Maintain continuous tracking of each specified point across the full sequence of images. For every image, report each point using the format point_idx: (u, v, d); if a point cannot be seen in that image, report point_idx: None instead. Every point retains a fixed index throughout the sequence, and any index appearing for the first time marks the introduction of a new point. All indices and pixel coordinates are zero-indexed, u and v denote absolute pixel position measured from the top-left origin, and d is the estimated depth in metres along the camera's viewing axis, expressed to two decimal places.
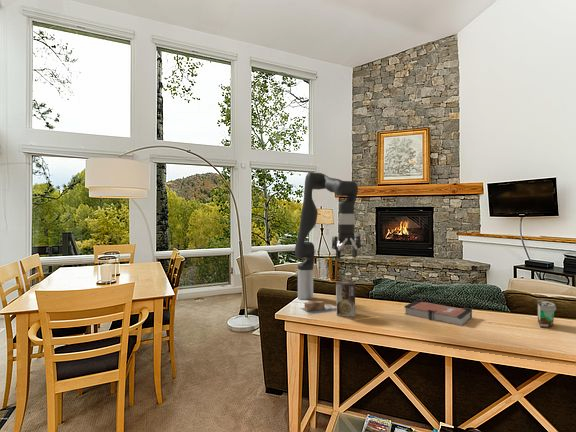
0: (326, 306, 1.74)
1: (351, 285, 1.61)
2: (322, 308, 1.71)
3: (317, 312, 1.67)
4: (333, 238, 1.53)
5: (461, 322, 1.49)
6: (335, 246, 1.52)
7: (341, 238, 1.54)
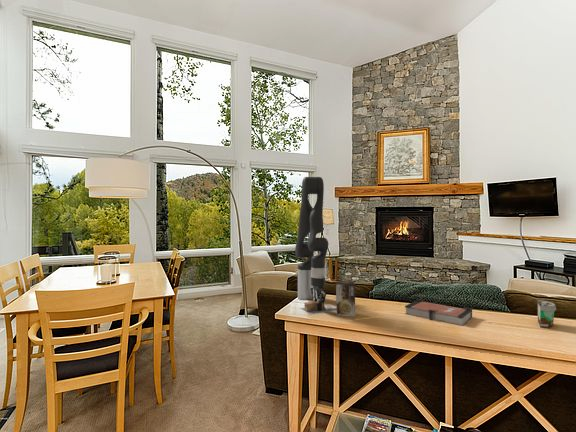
0: (326, 306, 1.74)
1: (351, 285, 1.61)
2: (322, 308, 1.71)
3: (317, 312, 1.67)
4: (323, 295, 1.66)
5: (462, 322, 1.50)
6: None
7: None
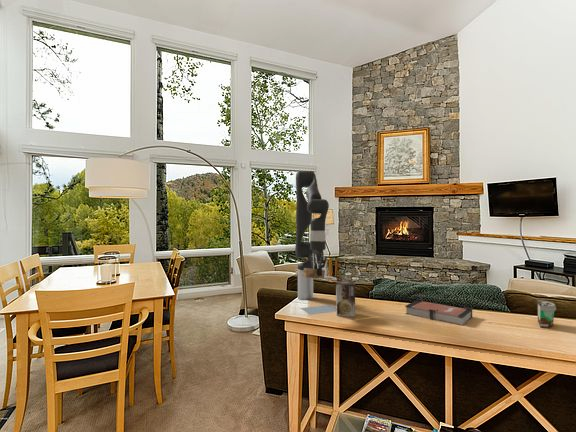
0: (326, 276, 1.64)
1: (351, 285, 1.61)
2: (321, 277, 1.61)
3: (317, 312, 1.67)
4: (323, 259, 1.56)
5: (462, 321, 1.50)
6: None
7: None
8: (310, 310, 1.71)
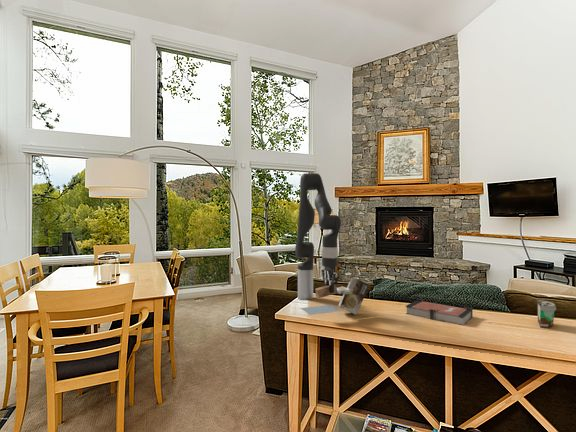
0: (338, 289, 1.63)
1: (366, 284, 1.63)
2: (334, 292, 1.60)
3: (317, 312, 1.67)
4: (336, 276, 1.54)
5: (462, 321, 1.50)
6: None
7: None
8: (310, 310, 1.71)
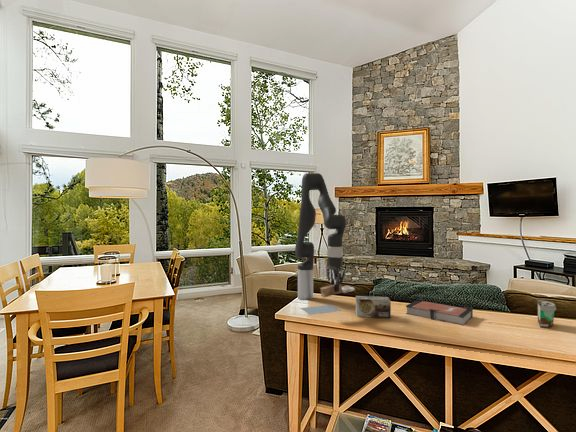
0: (343, 288, 1.64)
1: (389, 314, 1.59)
2: (339, 291, 1.61)
3: (317, 312, 1.67)
4: (341, 275, 1.56)
5: (463, 321, 1.51)
6: None
7: None
8: (310, 310, 1.71)
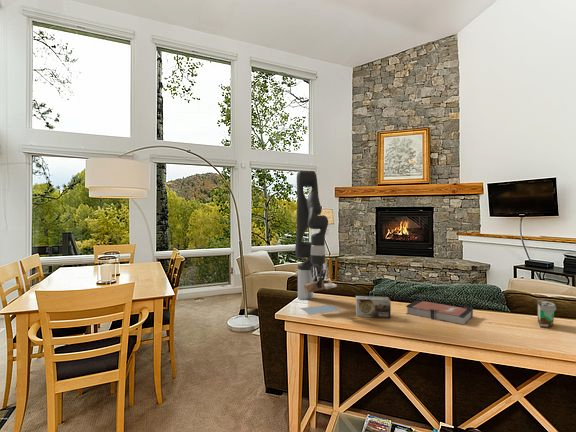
0: (326, 284, 1.74)
1: (389, 314, 1.59)
2: (322, 287, 1.71)
3: (317, 312, 1.67)
4: (323, 272, 1.66)
5: (463, 321, 1.51)
6: None
7: None
8: (310, 310, 1.71)
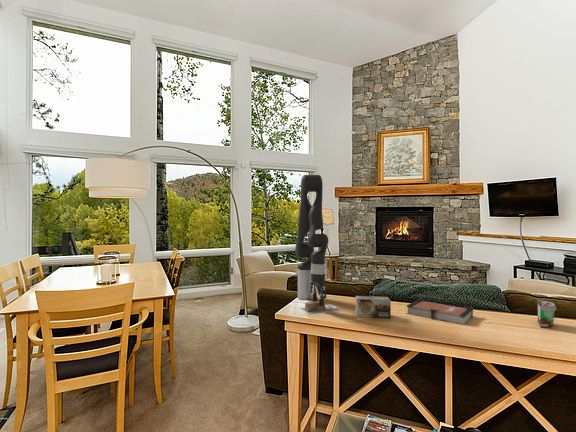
0: (327, 306, 1.74)
1: (389, 314, 1.59)
2: (323, 308, 1.71)
3: (317, 312, 1.67)
4: (324, 289, 1.65)
5: (463, 321, 1.51)
6: None
7: None
8: None
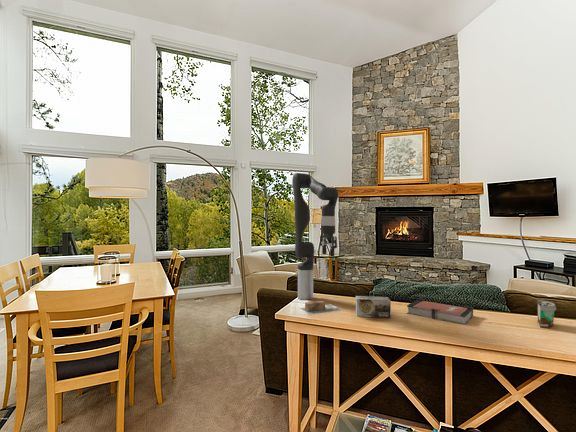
0: (327, 306, 1.74)
1: (389, 314, 1.59)
2: (323, 308, 1.71)
3: (317, 312, 1.67)
4: (334, 238, 1.70)
5: (464, 320, 1.51)
6: None
7: None
8: None
